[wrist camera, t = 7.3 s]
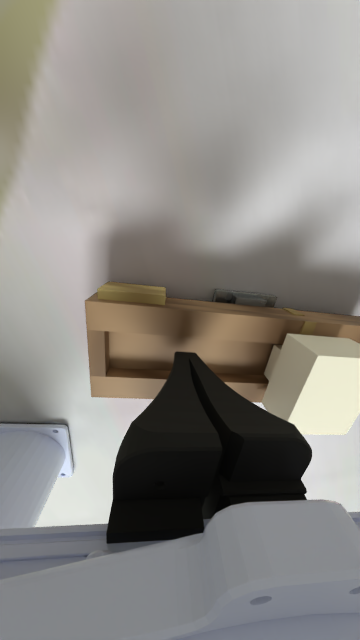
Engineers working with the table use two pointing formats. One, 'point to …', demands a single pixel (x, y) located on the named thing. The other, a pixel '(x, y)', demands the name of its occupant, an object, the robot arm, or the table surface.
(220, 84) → the table surface
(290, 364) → the plate
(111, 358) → the beam
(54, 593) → the robot arm
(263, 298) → the clear grey flat box
